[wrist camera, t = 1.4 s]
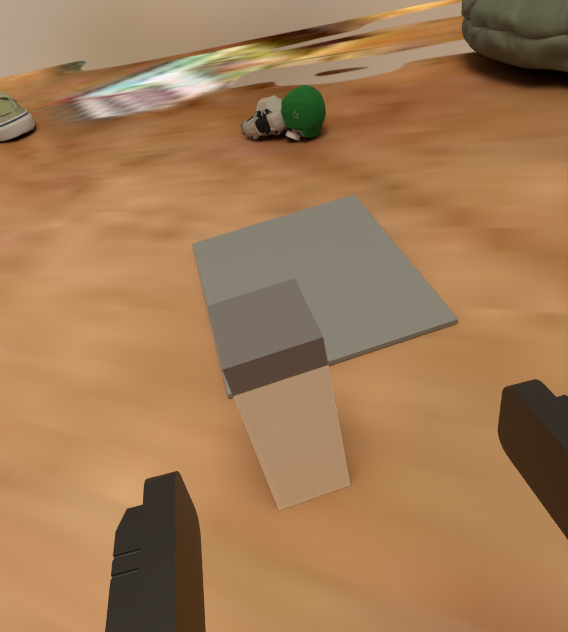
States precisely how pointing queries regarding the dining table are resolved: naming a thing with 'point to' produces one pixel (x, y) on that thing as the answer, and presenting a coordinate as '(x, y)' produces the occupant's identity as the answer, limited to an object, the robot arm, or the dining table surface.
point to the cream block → (282, 390)
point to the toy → (288, 115)
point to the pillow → (519, 31)
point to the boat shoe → (13, 118)
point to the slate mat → (328, 276)
